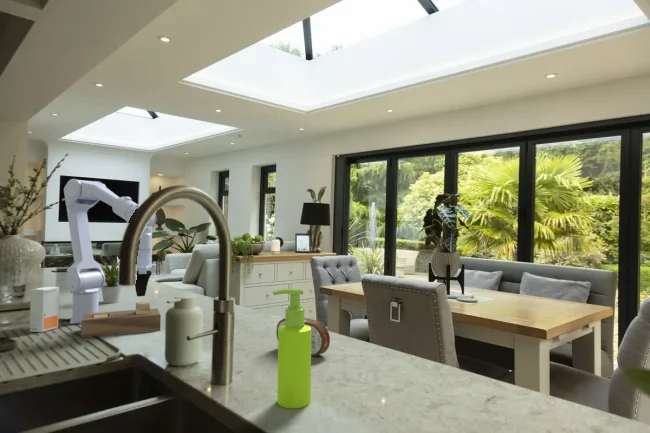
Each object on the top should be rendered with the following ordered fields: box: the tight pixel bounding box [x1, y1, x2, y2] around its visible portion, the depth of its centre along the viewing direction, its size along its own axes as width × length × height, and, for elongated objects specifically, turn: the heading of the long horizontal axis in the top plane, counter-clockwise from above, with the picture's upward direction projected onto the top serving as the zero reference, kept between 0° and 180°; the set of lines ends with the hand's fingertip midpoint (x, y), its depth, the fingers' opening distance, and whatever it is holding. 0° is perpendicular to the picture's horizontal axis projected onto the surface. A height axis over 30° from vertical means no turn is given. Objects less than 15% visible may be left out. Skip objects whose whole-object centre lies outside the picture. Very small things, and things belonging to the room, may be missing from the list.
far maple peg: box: [135, 300, 151, 315], centre depth 130 cm, size 4×4×4 cm
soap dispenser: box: [272, 288, 312, 409], centre depth 79 cm, size 6×7×20 cm
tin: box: [275, 317, 331, 357], centre depth 108 cm, size 15×3×8 cm, turn 55°
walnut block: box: [80, 308, 162, 339], centre depth 128 cm, size 10×20×4 cm, turn 116°
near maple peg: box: [93, 314, 108, 318], centre depth 125 cm, size 4×4×4 cm
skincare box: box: [29, 286, 60, 333], centre depth 127 cm, size 6×4×12 cm
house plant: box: [98, 259, 122, 304], centre depth 170 cm, size 14×14×16 cm
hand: (140, 295), depth 130 cm, fingers closed
